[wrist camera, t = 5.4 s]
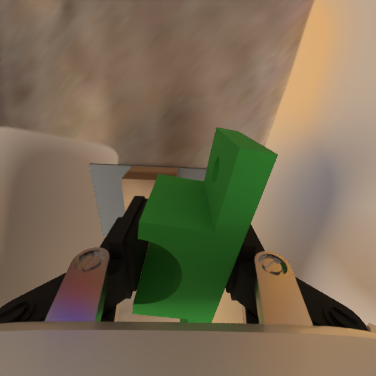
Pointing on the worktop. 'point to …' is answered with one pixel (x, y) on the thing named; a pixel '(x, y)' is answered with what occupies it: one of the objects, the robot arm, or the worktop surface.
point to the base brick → (142, 181)
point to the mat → (112, 189)
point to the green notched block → (200, 230)
